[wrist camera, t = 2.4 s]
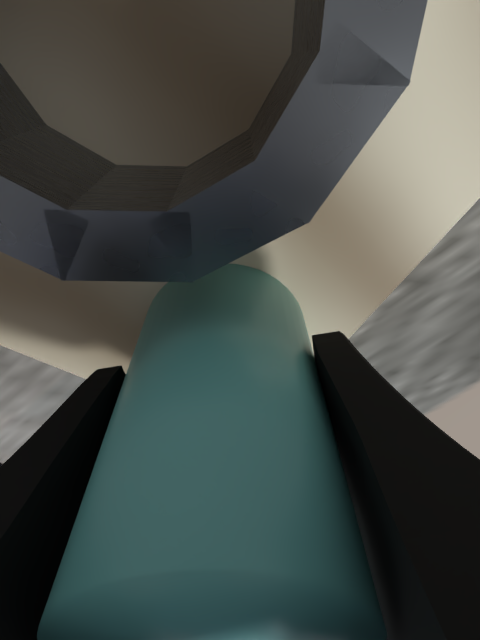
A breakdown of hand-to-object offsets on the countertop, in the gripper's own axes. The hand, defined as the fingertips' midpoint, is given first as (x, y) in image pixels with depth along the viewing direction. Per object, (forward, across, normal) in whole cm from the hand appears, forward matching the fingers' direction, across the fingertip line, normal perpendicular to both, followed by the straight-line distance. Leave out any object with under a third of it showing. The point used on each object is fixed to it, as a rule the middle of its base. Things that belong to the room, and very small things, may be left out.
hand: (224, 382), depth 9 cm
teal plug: (+2, 0, 0) cm, 2 cm away
